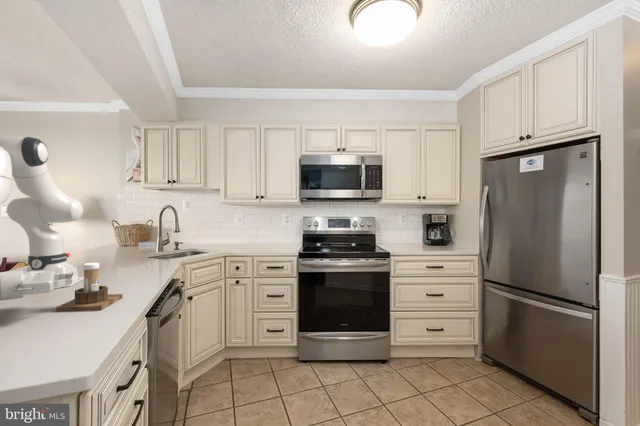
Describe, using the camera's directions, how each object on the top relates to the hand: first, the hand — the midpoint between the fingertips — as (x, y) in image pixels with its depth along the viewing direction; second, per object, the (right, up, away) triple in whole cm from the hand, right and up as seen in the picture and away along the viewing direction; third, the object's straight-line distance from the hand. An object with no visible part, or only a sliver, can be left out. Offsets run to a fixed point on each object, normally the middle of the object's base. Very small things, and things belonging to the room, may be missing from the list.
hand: (71, 278), depth 105 cm
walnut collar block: (+4, -10, +4) cm, 12 cm away
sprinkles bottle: (+4, -9, +4) cm, 10 cm away
